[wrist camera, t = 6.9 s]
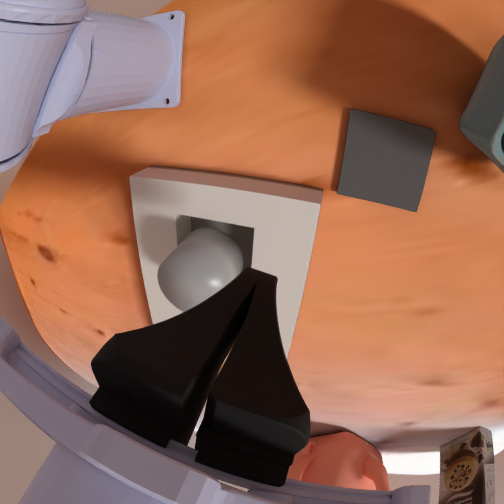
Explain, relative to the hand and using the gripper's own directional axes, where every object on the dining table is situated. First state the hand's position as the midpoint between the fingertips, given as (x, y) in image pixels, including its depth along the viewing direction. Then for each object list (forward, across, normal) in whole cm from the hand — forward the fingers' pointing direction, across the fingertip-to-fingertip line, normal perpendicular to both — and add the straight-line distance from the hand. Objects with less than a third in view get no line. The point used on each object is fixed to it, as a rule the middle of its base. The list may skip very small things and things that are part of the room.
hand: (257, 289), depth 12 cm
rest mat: (+10, -5, -5) cm, 13 cm away
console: (+10, +4, +10) cm, 15 cm away
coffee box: (+10, -44, +28) cm, 53 cm away
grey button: (+7, +4, +5) cm, 10 cm away
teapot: (+10, -22, +35) cm, 43 cm away
